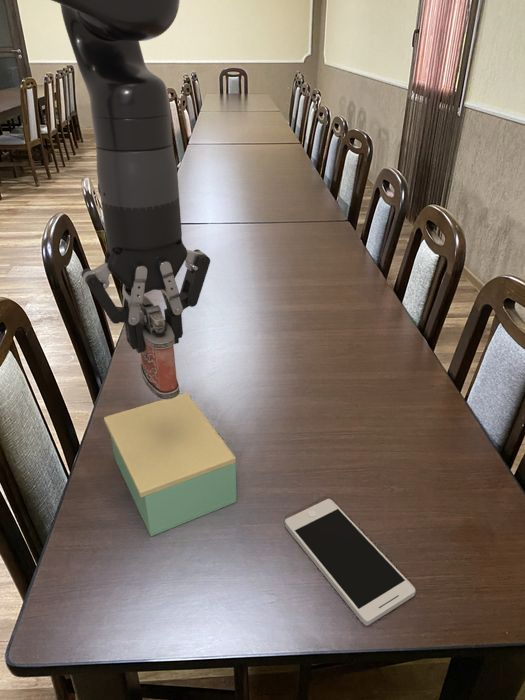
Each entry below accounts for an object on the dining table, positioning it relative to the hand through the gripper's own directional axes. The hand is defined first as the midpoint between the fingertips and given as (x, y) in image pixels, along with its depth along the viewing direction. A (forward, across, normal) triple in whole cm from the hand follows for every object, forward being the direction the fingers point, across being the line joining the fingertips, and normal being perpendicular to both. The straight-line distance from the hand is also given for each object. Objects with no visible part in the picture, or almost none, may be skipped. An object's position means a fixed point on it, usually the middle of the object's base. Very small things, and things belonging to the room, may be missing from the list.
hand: (156, 344), depth 61 cm
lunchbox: (+22, 0, 0) cm, 22 cm away
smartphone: (+22, +14, -21) cm, 33 cm away
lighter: (+5, 0, 0) cm, 5 cm away
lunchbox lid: (+15, 0, +1) cm, 15 cm away
